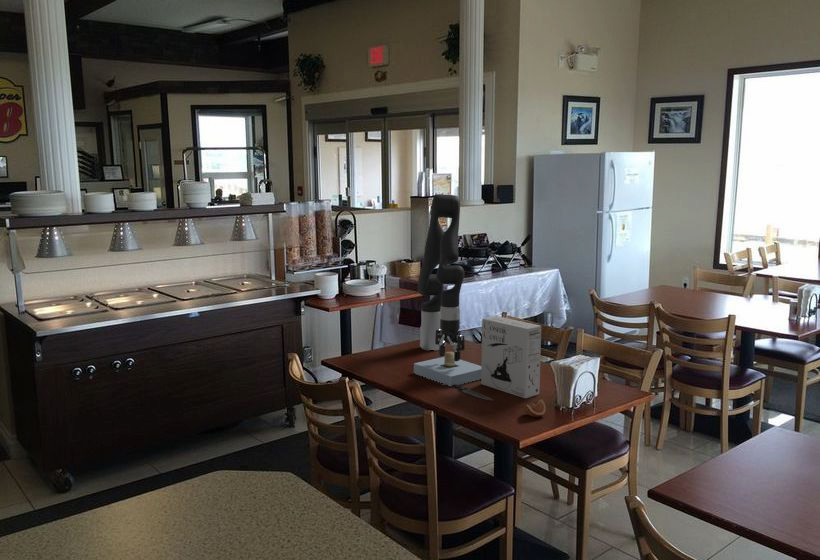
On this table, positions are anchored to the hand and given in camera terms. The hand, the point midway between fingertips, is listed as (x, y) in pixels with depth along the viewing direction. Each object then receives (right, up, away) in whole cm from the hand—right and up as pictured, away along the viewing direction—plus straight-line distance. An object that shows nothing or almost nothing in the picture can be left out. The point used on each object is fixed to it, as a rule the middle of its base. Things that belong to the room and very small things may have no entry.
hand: (449, 358), depth 268 cm
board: (0, -7, +1) cm, 7 cm away
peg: (0, -7, +1) cm, 7 cm away
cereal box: (+21, -10, -16) cm, 28 cm away
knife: (+6, -10, -19) cm, 22 cm away
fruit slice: (+25, -14, -43) cm, 51 cm away
